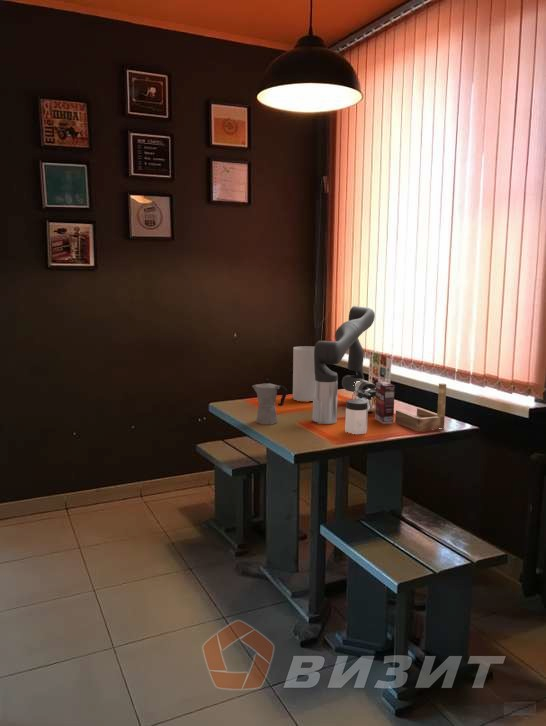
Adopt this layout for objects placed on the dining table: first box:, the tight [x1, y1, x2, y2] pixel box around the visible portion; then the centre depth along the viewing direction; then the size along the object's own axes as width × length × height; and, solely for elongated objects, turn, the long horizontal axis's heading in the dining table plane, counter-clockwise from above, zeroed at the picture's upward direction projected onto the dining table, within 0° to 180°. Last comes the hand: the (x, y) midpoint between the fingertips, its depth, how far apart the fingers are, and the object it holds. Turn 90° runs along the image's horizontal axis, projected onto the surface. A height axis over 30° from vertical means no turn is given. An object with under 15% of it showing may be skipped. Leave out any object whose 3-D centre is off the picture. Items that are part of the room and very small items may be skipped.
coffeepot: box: [251, 378, 288, 425], centre depth 245 cm, size 15×9×18 cm, turn 67°
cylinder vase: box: [292, 345, 315, 402], centre depth 286 cm, size 12×12×25 cm
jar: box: [344, 398, 369, 435], centre depth 232 cm, size 9×8×12 cm
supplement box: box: [374, 381, 396, 425], centre depth 248 cm, size 9×5×16 cm, turn 14°
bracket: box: [394, 382, 447, 432], centre depth 241 cm, size 12×16×18 cm
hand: (380, 397), depth 253 cm, fingers open, 8 cm apart
